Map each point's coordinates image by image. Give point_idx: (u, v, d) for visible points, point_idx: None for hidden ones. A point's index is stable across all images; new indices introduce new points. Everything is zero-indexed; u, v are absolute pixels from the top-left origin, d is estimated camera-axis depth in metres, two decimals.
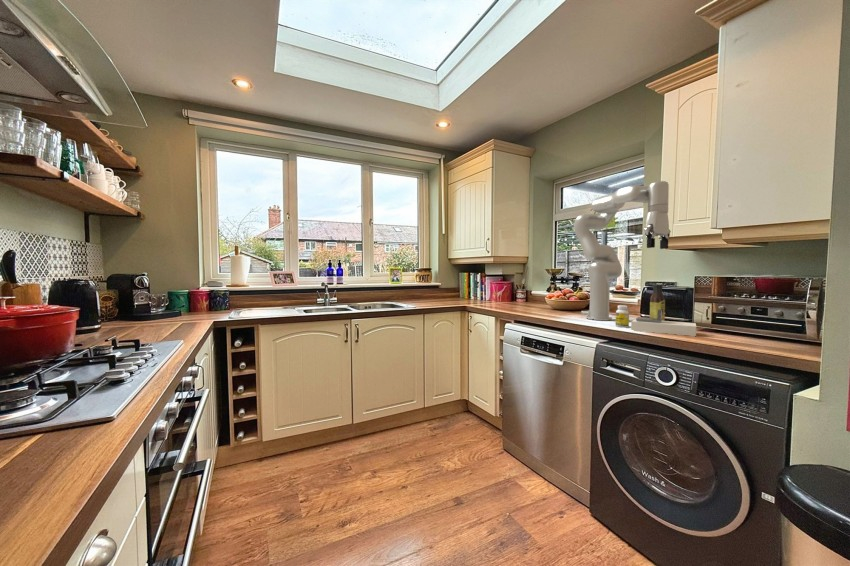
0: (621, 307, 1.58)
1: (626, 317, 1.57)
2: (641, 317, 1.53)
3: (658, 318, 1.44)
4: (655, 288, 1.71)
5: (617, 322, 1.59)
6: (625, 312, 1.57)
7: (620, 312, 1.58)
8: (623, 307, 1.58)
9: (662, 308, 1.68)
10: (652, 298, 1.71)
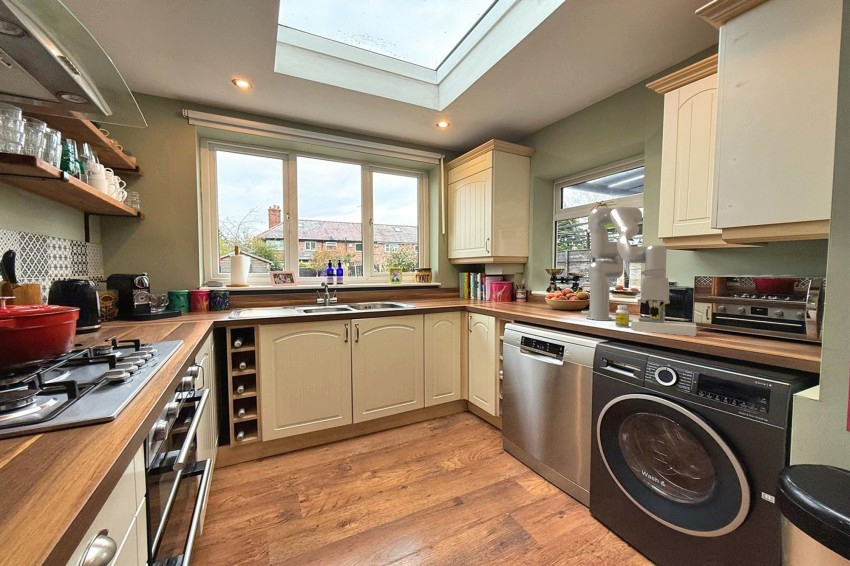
0: (621, 307, 1.58)
1: (626, 317, 1.57)
2: (643, 317, 1.53)
3: (661, 318, 1.44)
4: None
5: (617, 322, 1.59)
6: (625, 312, 1.57)
7: (620, 312, 1.58)
8: (623, 307, 1.58)
9: (662, 308, 1.68)
10: None
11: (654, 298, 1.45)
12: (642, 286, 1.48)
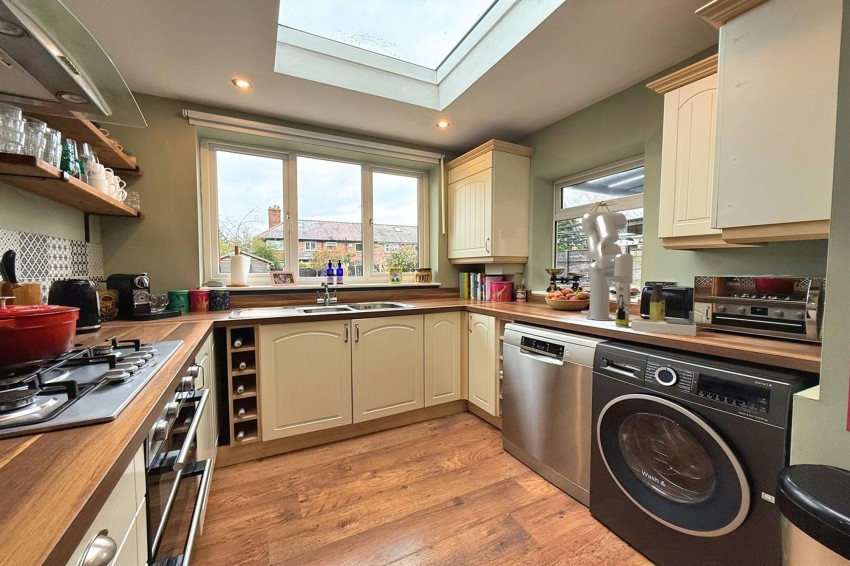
0: None
1: (626, 317, 1.57)
2: (670, 319, 1.47)
3: (690, 320, 1.38)
4: (655, 288, 1.71)
5: (617, 322, 1.59)
6: (625, 312, 1.57)
7: None
8: None
9: (662, 308, 1.68)
10: (652, 298, 1.71)
11: (629, 302, 1.58)
12: (627, 291, 1.54)
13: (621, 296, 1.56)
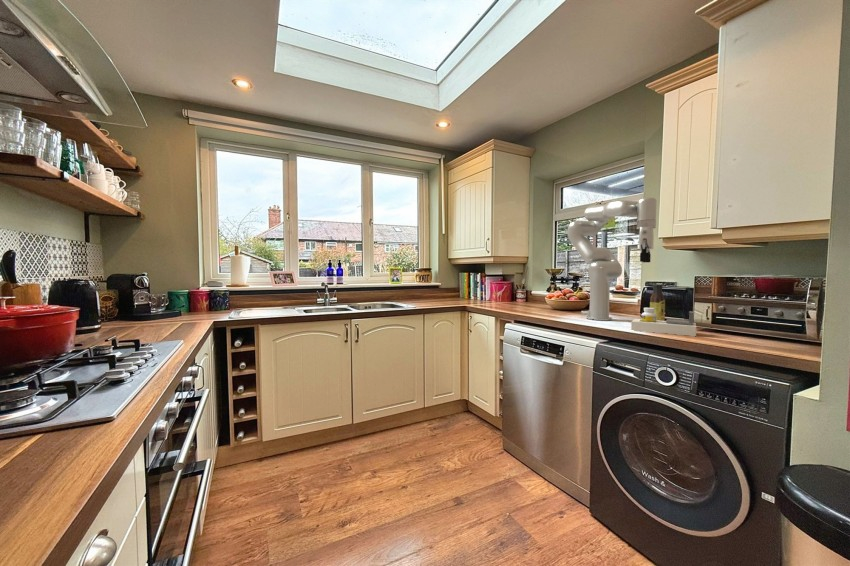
0: (648, 309, 1.48)
1: (653, 320, 1.47)
2: (670, 319, 1.47)
3: (690, 320, 1.38)
4: (655, 288, 1.71)
5: None
6: (652, 315, 1.47)
7: (647, 315, 1.47)
8: (650, 309, 1.47)
9: (662, 308, 1.68)
10: (652, 298, 1.71)
11: (652, 247, 1.57)
12: (651, 235, 1.54)
13: (645, 239, 1.55)
